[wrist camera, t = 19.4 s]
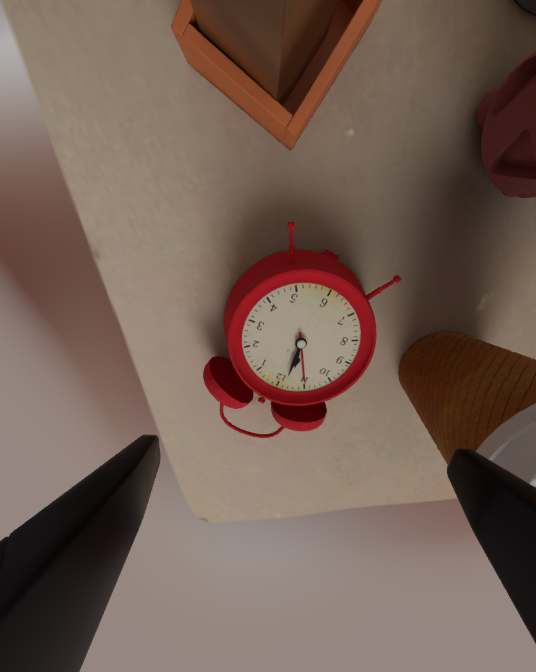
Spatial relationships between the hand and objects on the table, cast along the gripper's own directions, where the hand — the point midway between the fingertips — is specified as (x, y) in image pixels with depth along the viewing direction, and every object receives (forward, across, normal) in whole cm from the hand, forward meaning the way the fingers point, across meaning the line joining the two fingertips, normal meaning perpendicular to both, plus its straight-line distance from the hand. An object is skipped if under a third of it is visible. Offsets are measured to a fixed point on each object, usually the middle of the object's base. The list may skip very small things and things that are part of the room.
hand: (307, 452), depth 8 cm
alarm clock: (+13, 0, +2) cm, 13 cm away
